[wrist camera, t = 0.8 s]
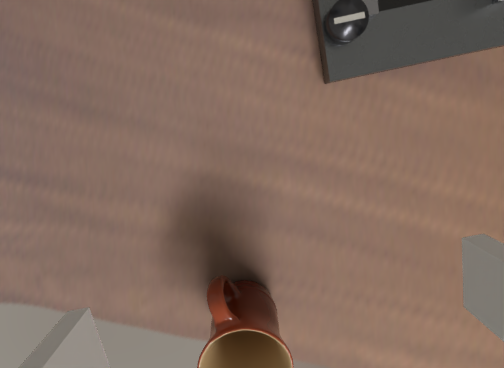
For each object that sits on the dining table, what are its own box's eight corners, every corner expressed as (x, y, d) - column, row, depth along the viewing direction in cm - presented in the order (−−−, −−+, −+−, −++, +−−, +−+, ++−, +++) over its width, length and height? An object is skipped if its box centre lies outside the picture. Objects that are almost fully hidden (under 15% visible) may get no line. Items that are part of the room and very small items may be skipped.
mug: (290, 319, 39) (307, 390, 29) (226, 344, 39) (220, 422, 29) (253, 236, 36) (258, 283, 26) (185, 264, 36) (164, 320, 26)
